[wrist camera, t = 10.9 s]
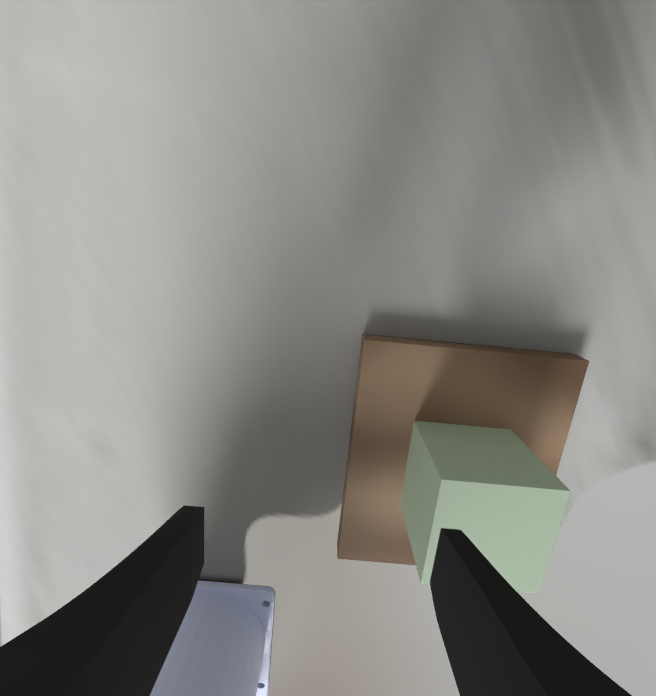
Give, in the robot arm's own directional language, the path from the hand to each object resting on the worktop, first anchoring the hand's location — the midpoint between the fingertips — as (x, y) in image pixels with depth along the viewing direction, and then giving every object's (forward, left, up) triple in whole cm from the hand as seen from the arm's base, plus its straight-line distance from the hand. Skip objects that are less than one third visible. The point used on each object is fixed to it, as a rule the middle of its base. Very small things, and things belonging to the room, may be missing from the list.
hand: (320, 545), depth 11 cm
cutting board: (-2, -7, -9) cm, 12 cm away
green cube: (-2, -7, -8) cm, 11 cm away
